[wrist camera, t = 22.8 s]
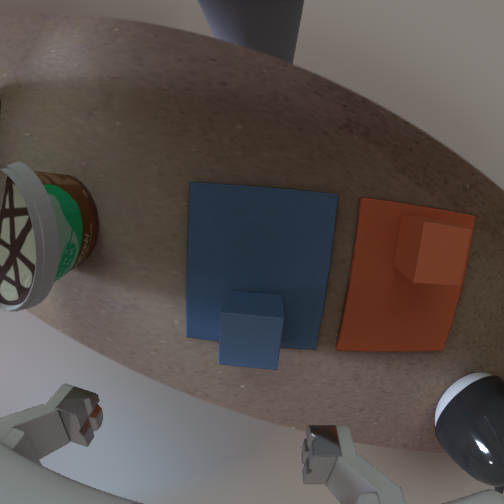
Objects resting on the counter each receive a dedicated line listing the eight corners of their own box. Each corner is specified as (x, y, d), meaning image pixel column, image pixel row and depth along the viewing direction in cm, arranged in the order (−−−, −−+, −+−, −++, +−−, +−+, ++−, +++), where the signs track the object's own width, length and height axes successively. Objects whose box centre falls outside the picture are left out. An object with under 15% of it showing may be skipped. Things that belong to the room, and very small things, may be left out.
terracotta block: (400, 213, 25) (424, 221, 20) (444, 220, 25) (471, 229, 20) (392, 266, 26) (413, 283, 21) (435, 269, 26) (460, 286, 21)
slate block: (228, 289, 27) (220, 311, 23) (282, 294, 27) (284, 317, 23) (225, 336, 28) (218, 364, 24) (276, 341, 28) (277, 370, 24)
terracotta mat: (359, 197, 25) (361, 197, 25) (472, 215, 25) (475, 216, 24) (335, 347, 29) (336, 350, 28) (440, 348, 28) (443, 350, 28)
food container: (93, 299, 29) (35, 345, 19) (49, 274, 29) (-14, 308, 19) (125, 181, 26) (58, 187, 16) (74, 160, 26) (1, 161, 16)
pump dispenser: (422, 436, 31) (461, 524, 16) (425, 378, 29) (485, 475, 14) (485, 407, 30) (536, 479, 15) (496, 347, 28) (568, 419, 13)
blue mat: (191, 182, 26) (190, 182, 25) (337, 194, 25) (338, 194, 25) (187, 334, 29) (186, 337, 29) (315, 346, 29) (315, 349, 28)
